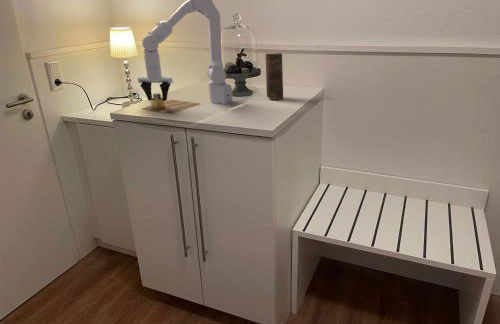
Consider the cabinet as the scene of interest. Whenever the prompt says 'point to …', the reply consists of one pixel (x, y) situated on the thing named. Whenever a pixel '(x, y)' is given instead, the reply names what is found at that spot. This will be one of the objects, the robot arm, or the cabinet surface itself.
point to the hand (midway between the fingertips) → (157, 100)
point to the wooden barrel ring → (157, 103)
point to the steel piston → (157, 96)
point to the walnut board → (173, 106)
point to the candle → (274, 76)
